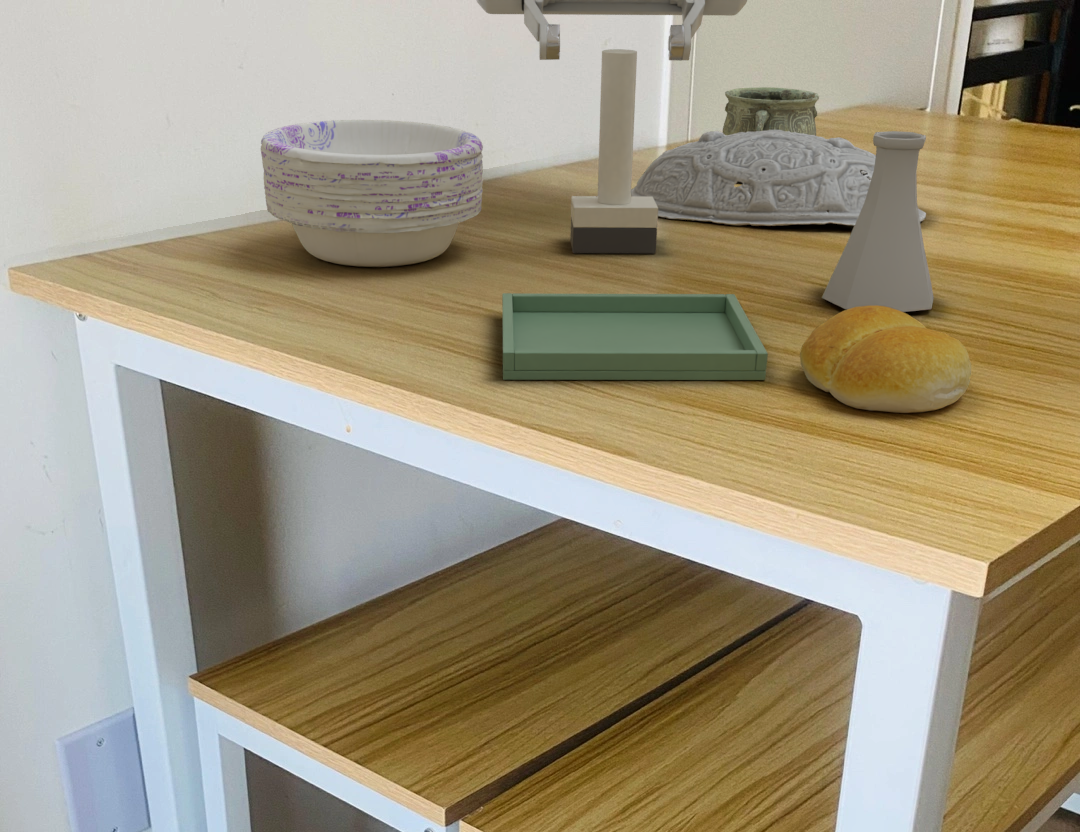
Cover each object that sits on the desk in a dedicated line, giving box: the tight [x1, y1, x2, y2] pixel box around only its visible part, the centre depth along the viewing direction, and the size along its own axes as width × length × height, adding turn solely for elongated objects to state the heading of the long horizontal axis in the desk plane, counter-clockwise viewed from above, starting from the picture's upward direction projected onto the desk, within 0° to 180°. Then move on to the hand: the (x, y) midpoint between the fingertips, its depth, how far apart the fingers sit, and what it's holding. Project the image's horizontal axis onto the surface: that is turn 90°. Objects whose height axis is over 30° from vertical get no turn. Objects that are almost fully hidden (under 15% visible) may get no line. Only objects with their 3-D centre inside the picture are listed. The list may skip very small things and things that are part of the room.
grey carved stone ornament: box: [631, 130, 927, 227], centre depth 111 cm, size 16×25×7 cm, turn 73°
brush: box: [569, 48, 659, 255], centre depth 97 cm, size 6×4×13 cm, turn 91°
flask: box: [821, 130, 934, 313], centre depth 85 cm, size 7×7×10 cm
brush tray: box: [501, 292, 769, 381], centre depth 79 cm, size 14×12×2 cm
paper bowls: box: [260, 119, 484, 268], centre depth 96 cm, size 15×15×8 cm
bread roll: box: [799, 305, 972, 414], centre depth 72 cm, size 8×9×4 cm
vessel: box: [722, 86, 820, 136], centre depth 128 cm, size 12×9×6 cm
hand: (614, 54), depth 99 cm, fingers open, 8 cm apart
